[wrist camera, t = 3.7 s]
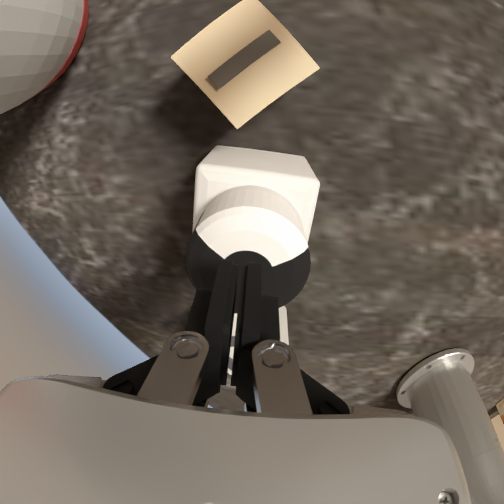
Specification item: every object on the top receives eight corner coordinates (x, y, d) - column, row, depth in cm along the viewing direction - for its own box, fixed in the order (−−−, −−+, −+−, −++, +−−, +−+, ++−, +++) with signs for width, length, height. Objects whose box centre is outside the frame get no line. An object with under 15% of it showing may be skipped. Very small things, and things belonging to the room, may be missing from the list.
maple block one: (306, 74, 20) (320, 68, 15) (243, 121, 22) (236, 130, 17) (254, 17, 18) (251, -8, 12) (193, 65, 20) (168, 56, 14)
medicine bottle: (291, 237, 27) (305, 337, 16) (208, 227, 26) (172, 321, 16) (306, 156, 23) (341, 213, 13) (214, 144, 23) (170, 191, 12)
